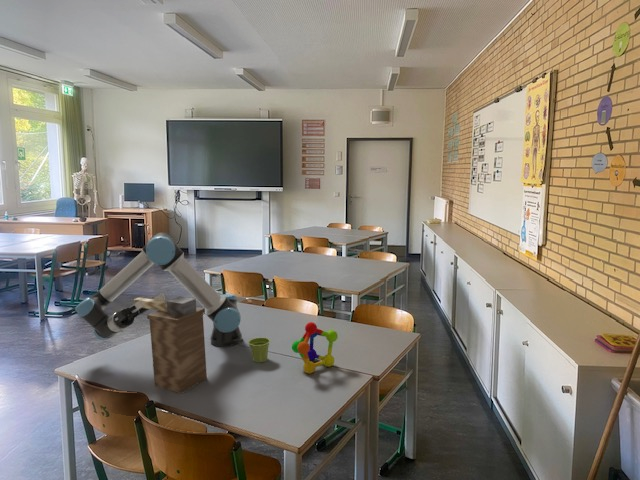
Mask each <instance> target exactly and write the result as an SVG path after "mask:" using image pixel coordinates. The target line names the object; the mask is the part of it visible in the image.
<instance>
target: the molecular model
mask: <svg viewBox="0 0 640 480" xmlns="http://www.w3.org/2000/svg"><path fill="white" fill-rule="evenodd" d="M304 330H305V333H304V334H303V336H302V337H301V338H300V340H296V341H294V342H293V343H292V344H291V349H292V351H293V352H294V353H296V354H299V356H300V358H301V359H302V361H303V363H304V364H303V370H304V372H305V373H306V374H307V375H308V374H309V375H310V374H313V373H314V372H315V370H316V368H317V367H321V366H323V365H324V366H326V367H329V368H330V367H332V366H334V364H335V358H334V356H333V355H332V353H333V352H332V351H333V345H334V342H336V341H337V339H338V333H337V331H336V330H334V329H330V330H328V331H325V330H322V329H320V328H318V326H317V324H316V323H314V322H311V321H310V322H308V323H306V325H305V327H304ZM317 336H320V337H324V338H326V340H327V341H328V347H327V354H326V355H324V356H323V355H320V354H317V351H316V350H315V349H314V341H315V340H314V339H315V338H316V337H317ZM315 359H317V360H320V361H318V362H314V360H315Z"/></svg>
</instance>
